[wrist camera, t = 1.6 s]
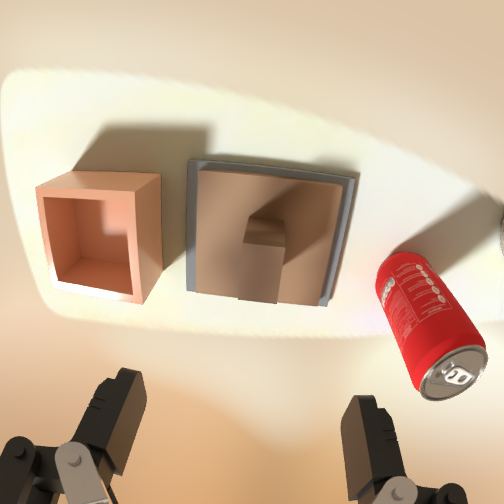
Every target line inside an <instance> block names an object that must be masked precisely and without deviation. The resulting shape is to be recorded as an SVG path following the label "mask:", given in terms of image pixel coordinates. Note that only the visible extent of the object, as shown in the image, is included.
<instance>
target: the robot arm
mask: <svg viewBox="0 0 504 504" xmlns="http://www.w3.org/2000/svg"><path fill="white" fill-rule="evenodd" d="M500 240H501V248H502V253H503V255H504V217H503V222H502V226H501V235H500ZM146 402H147V396H146V390H145V386H144V381H143V377H142V373H141V372H140V371H136V370H131V369H127V368H121V369H120V370H119V372H118V374H117V376H116V378H115V379H111V378H107V379H106V380H105V381H103V382H102V383H101V384H100V385H99V386H98V388H97V389H96V391H95V393H94V395H93V399H91V401H90V403H89V407H87V409H86V411H85V413H84V416H83V418H82V420H81V422H80V424H79V426H78V428H77V430H76V432H75V434H74V436H73V438H72V439H71V440H70V441H69V442H67V443H64V444H62V445H61V446H60V447H46V446H35V445H34V444H33V443H32V442H31V441H30V440H29V439H27V438H25V437H21V436H17V437H14V438H12V439H10V440H9V441H8V442H7V443H6V445H5V448H4V449H3V452H2V454H1V456H0V504H57V502H58V499H59V496H60V494H61V493H62V494H65V495H66V498H67V501H68V504H120V502H119V500H118V498H117V496H116V493H115V491H114V489H113V487H112V484H111V479H112V476H113V474H116V475H120V476H122V474H123V471H124V468H125V465H126V463H127V460H128V457H129V454H130V451H131V448H132V445H133V442H134V439H135V436H136V433H137V430H138V428H139V425H140V422H141V419H142V416H143V413H144V411H145V407H146ZM341 437H342V445H343V453H344V461H345V470H346V478H347V488H348V499H349V501H352V500H358V504H468V502H467V497H466V493H465V491H464V489H463V488H462V487H461V486H460V485H458V484H455V483H448V484H446V485H444V486H442V487H441V488H440V489H436V488H427V487H421V486H417V485H415V483H414V482H413V481H412V480H411V479H409V478H408V477H407V476H406V473H405V470H404V465H403V461H402V457H401V453H400V448H399V444H398V441H397V436H396V433H395V428H394V425H393V421H392V418H391V416H390V415H389V414H388V413H387V411H386V410H385V408H377V403H376V399H375V397H374V396H373V395H354V397H353V398H352V400H351V402H350V404H349V406H348V408H347V409H346V411H345V413H344V415H343V417H342V420H341Z"/></svg>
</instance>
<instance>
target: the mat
mask: <svg viewBox="0 0 504 504" xmlns="http://www.w3.org/2000/svg"><path fill="white" fill-rule="evenodd" d="M201 168H204V169H217V170H229V171H239V172H250V173H259V174H268V175H277V176H286V177H294V178H301V179H309V180H316V181H323V182H330V183H337V184H341V185H342V186H343V190H342V195H341V201H340V206H339V211H338V216H337V222H336V227H335V232H334V236H333V241H332V246H331V251H330V255H329V260H328V264H327V269H326V273H325V278H324V282H323V286H322V291H321V295H320V299H319V303H318V306H325V307H327V305H328V301H329V297H330V293H331V289H332V285H333V281H334V277H335V273H336V269H337V265H338V260H339V256H340V252H341V247H342V243H343V238H344V234H345V229H346V224H347V219H348V215H349V210H350V205H351V200H352V194H353V189H354V184H355V179H354V178H352V177H346V176H340V175H334V174H327V173H320V172H313V171H306V170H298V169H290V168H282V167H274V166H265V165H255V164H245V163H234V162H223V161H210V160H195V159H190V160H188V171H187V208H186V286H187V291H192V292H196V231H197V196H198V172H199V170H200V169H201Z"/></svg>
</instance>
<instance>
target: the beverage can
mask: <svg viewBox="0 0 504 504" xmlns="http://www.w3.org/2000/svg"><path fill="white" fill-rule="evenodd" d="M375 289H376V293H377V296H378V298H379V300H380V303H381V305H382V307H383V310H384V312H385V314H386V317H387V319H388V321H389V324H390V326H391V329H392V331H393V334H394V336H395V339H396V341H397V344H398V346H399V348H400V351H401V354H402V356H403V359H404V361H405V364H406V367H407V369H408V372H409V375H410V378H411V380H412V383H413V385H414V387H415V389H416V390H418V391H419V392H420V393H421V395H422V397H423V398H425V399H426V400H429V401H442V400H446V399H450V398H452V397H454V396H457V395H459V394H460V393H462V392H464V391H465V390H467V388H469V387H470V386H472V385H473V384H474V383H475V382H476V381H477V379H478V378H479V377H480V376H481V374H482V373H483V371H484V369H485V367H486V365H487V362H488V355H487V352H486V345H485V342H484V340H483V338H482V336H481V335H480V334H479V332H478V330H477V329H476V327H475V326H474V324H473V323H472V321H471V320H470V318H469V317H468V315H467V314H466V313H465V311H464V310H463V308H462V307H461V306H460V304H459V303H458V301H457V300H456V299H455V297H454V296H453V294H452V293H451V292H450V290H449V289H448V288H447V286H446V285H445V284H444V282H443V281H442V280H441V278H440V277H439V276H438V274H437V273H436V272H435V271H434V269H433V268H432V267H431V265H430V264H429V263H428V262H427V261H426V259H425V258H423V257H422V256H420V255H418V254H414V253H411V252H398V253H395V254H393V255H391V256H389V257H388V258H387V259H385V260H384V262H383V263H382V264H381V265H380V267H379V269H378V272H377V279H376V284H375Z"/></svg>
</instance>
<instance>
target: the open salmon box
mask: <svg viewBox="0 0 504 504" xmlns="http://www.w3.org/2000/svg"><path fill="white" fill-rule="evenodd" d="M35 188H36V197H37V205H38V212H39V219H40V225H41V231H42V237H43V243H44V248H45V253H46V258H47V263H48V267H49V272H50V276H51V280H52V284H53V287H55V288H60V289H64V290H69V291H74V292H79V293H84V294H88V295H94V296H99V297H104V298H109V299H114V300H120V301H125V302H131V303H137V304H144V302H145V300H146V299H147V297H148V295H149V294H150V292H151V290H152V289H153V287H154V285H155V284H156V282H157V280H158V279H159V277H160V275H161V274H162V272H163V260H162V231H161V174H158V173H138V172H111V171H69V172H67V173H65V174H63V175H61V176H58V177H56V178H54V179H52V180H50V181H48V182H46V183H43V184H41V185H39V186H37V187H35Z"/></svg>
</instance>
